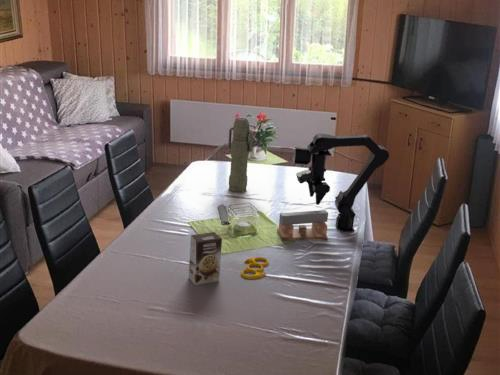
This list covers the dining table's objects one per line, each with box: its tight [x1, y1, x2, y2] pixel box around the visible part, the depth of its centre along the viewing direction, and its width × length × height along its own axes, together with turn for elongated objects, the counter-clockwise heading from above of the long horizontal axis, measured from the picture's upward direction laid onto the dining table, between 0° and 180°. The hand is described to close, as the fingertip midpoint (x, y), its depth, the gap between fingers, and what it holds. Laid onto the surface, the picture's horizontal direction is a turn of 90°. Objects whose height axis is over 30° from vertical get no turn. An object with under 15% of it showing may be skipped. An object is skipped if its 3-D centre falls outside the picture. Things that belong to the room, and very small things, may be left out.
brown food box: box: [188, 231, 223, 286], centre depth 205 cm, size 9×6×16 cm
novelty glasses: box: [240, 256, 270, 280], centre depth 217 cm, size 17×2×10 cm
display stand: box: [276, 222, 329, 242], centre depth 246 cm, size 19×9×6 cm, turn 100°
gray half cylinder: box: [217, 204, 230, 224], centre depth 262 cm, size 4×20×2 cm, turn 7°
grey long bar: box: [278, 209, 329, 226], centre depth 245 cm, size 20×3×4 cm, turn 109°
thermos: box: [227, 117, 254, 194], centre depth 288 cm, size 9×12×35 cm
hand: (314, 200), depth 253 cm, fingers open, 9 cm apart
